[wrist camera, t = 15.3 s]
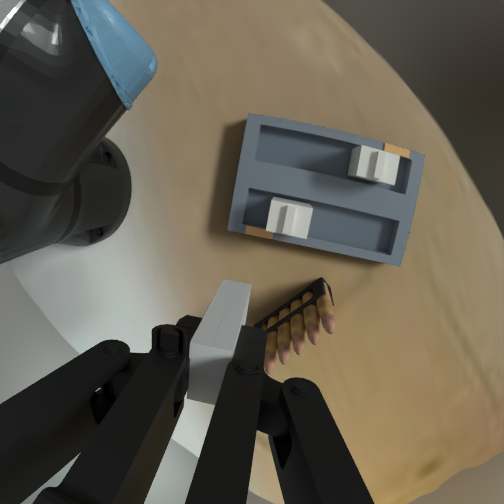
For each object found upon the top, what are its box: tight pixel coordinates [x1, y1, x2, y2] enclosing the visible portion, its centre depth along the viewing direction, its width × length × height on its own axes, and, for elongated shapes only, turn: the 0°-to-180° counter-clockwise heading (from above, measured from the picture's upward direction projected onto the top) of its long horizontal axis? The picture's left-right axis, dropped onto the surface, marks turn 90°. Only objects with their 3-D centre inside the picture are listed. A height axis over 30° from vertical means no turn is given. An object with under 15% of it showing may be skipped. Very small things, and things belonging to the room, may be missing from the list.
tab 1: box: [266, 197, 313, 239], centre depth 32 cm, size 4×3×6 cm
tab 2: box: [347, 145, 400, 185], centre depth 30 cm, size 4×3×6 cm
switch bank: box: [227, 113, 425, 266], centre depth 34 cm, size 20×13×3 cm, turn 80°
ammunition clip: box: [254, 278, 335, 374], centre depth 33 cm, size 11×2×12 cm, turn 130°
